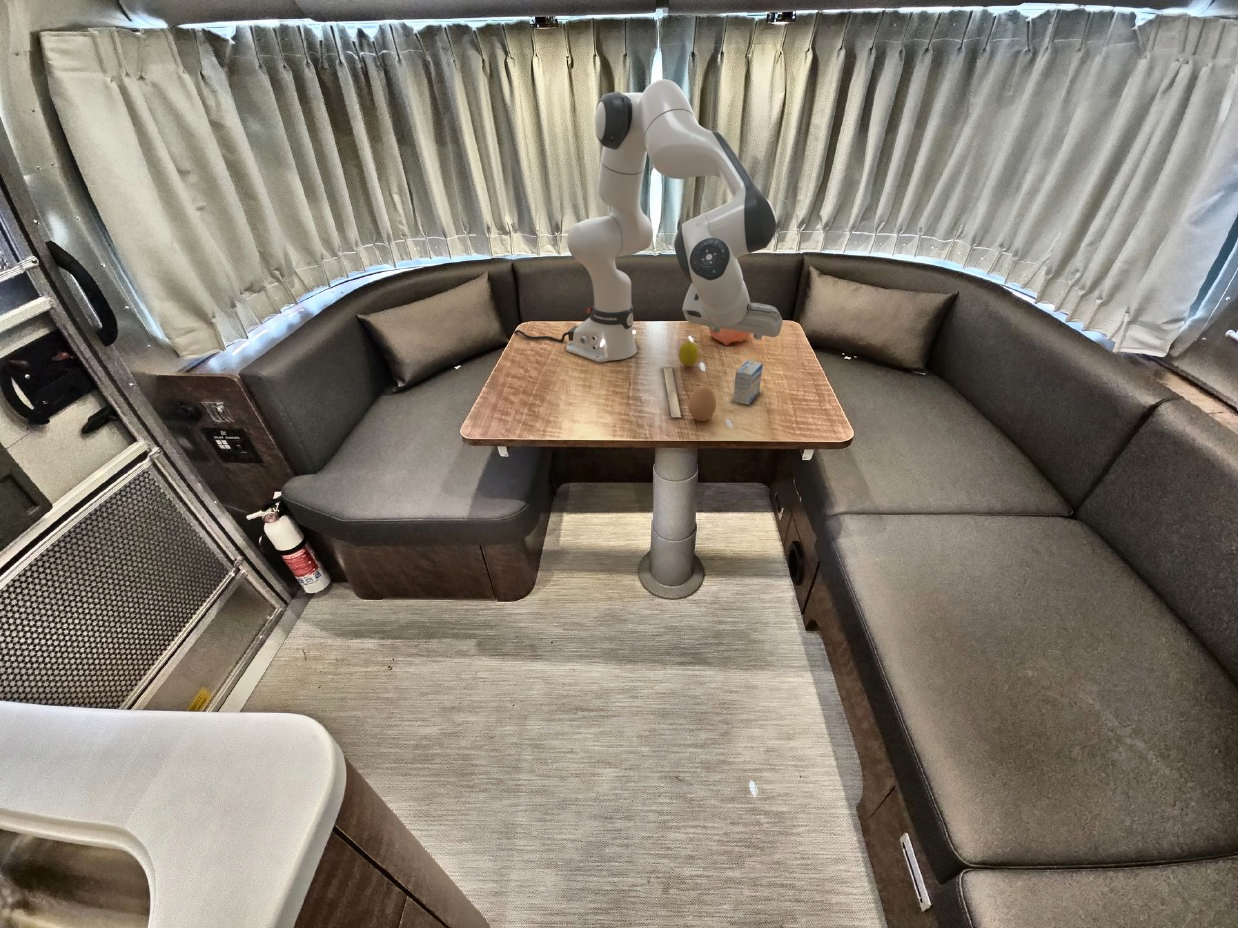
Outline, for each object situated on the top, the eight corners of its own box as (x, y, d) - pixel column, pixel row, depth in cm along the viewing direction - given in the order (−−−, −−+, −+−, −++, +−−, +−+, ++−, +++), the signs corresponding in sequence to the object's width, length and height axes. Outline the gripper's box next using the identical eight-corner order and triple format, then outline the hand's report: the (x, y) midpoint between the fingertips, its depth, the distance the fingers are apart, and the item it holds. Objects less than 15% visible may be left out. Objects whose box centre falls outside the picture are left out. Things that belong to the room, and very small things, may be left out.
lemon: (685, 372, 153) (686, 346, 148) (674, 365, 157) (675, 339, 152) (701, 368, 155) (703, 342, 150) (690, 361, 159) (692, 336, 154)
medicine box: (748, 405, 136) (752, 375, 131) (732, 401, 138) (735, 371, 133) (759, 393, 142) (763, 363, 137) (743, 389, 144) (747, 359, 139)
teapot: (754, 333, 175) (759, 300, 169) (747, 350, 164) (751, 316, 158) (711, 328, 179) (714, 296, 173) (701, 344, 169) (703, 310, 162)
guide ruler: (671, 418, 132) (671, 417, 132) (663, 369, 155) (663, 368, 155) (681, 418, 132) (681, 417, 132) (671, 369, 155) (671, 368, 155)
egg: (699, 410, 135) (701, 377, 130) (720, 419, 131) (723, 386, 126) (681, 419, 131) (683, 386, 126) (702, 429, 127) (705, 395, 122)
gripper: (783, 295, 101) (789, 327, 113) (684, 281, 109) (700, 312, 122) (773, 325, 100) (780, 354, 113) (674, 309, 109) (691, 338, 121)
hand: (737, 332), depth 117 cm, fingers open, 8 cm apart
